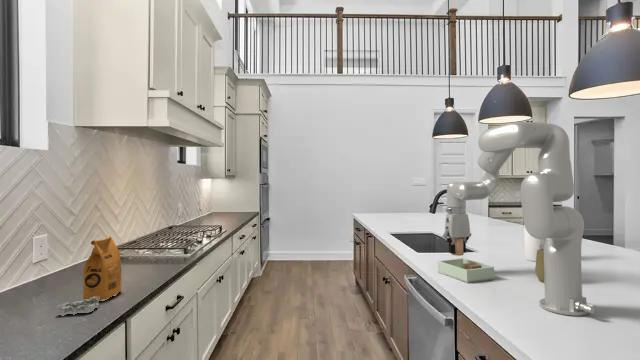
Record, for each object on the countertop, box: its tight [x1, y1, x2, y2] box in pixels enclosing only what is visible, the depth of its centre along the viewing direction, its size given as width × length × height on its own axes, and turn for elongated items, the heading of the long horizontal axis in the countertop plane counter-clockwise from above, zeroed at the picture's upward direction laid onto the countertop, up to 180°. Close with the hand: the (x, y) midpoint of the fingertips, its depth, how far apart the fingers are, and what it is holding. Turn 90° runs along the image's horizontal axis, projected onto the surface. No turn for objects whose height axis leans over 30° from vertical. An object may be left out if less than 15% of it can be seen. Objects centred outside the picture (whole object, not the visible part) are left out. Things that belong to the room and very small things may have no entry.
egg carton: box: [57, 296, 100, 314], centre depth 113 cm, size 11×8×4 cm
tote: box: [437, 257, 495, 284], centre depth 144 cm, size 18×14×5 cm
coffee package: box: [82, 235, 122, 301], centre depth 127 cm, size 10×12×22 cm
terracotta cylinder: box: [450, 238, 465, 257], centre depth 149 cm, size 5×5×7 cm
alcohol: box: [523, 225, 544, 263], centre depth 168 cm, size 9×9×30 cm
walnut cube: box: [463, 263, 481, 270], centre depth 141 cm, size 5×5×5 cm
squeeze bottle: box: [534, 239, 546, 283], centre depth 134 cm, size 8×8×18 cm
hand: (457, 252), depth 149 cm, fingers closed on terracotta cylinder, 5 cm apart
